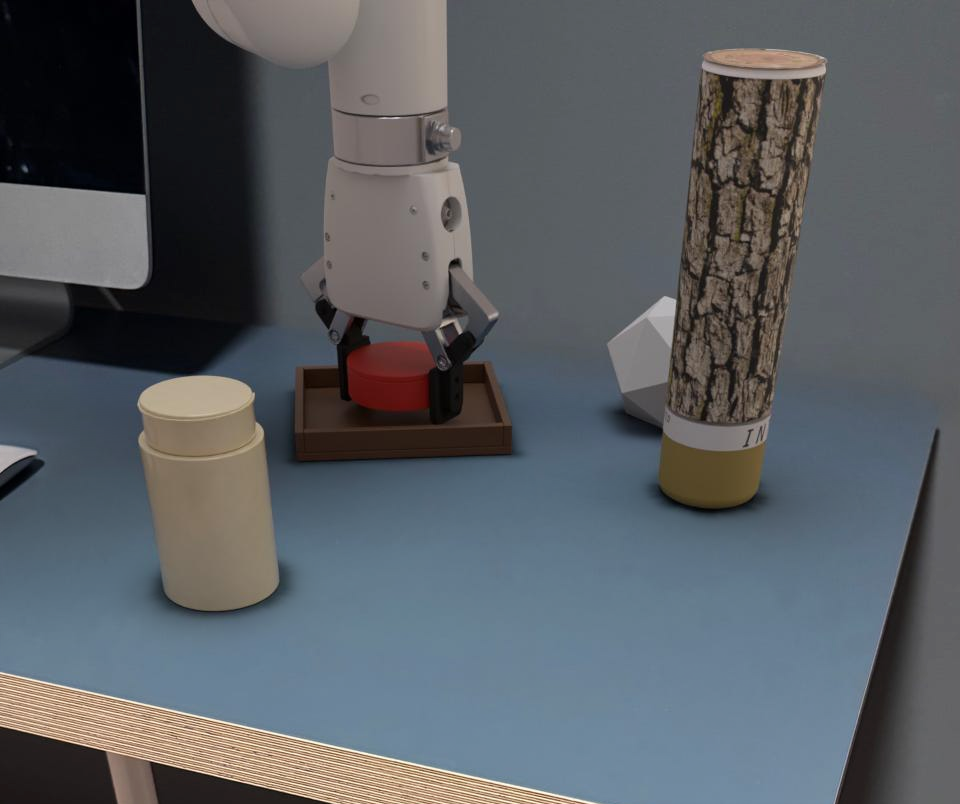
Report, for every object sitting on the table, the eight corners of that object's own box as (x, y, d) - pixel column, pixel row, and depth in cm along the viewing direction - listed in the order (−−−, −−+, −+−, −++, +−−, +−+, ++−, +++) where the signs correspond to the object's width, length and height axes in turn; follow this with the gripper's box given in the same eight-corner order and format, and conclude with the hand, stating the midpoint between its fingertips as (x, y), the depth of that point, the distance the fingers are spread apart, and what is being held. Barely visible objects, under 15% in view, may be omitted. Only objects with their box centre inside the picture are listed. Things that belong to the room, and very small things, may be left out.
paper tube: (656, 510, 82) (704, 66, 66) (656, 468, 88) (700, 47, 71) (760, 515, 82) (834, 70, 66) (754, 473, 87) (821, 50, 71)
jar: (158, 614, 71) (124, 420, 64) (168, 558, 77) (137, 374, 69) (278, 608, 72) (258, 416, 65) (280, 554, 77) (261, 370, 70)
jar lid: (378, 368, 96) (377, 335, 94) (468, 383, 94) (468, 349, 92) (330, 401, 91) (327, 367, 89) (424, 418, 88) (423, 382, 87)
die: (749, 433, 94) (738, 298, 94) (714, 408, 86) (701, 259, 86) (643, 457, 98) (632, 327, 98) (599, 434, 90) (587, 293, 90)
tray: (297, 461, 88) (294, 432, 87) (297, 393, 98) (295, 366, 97) (511, 454, 89) (512, 425, 88) (490, 387, 99) (490, 360, 98)
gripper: (534, 144, 80) (526, 416, 92) (323, 114, 87) (340, 369, 99) (468, 166, 75) (469, 450, 87) (251, 132, 83) (278, 398, 94)
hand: (400, 405), depth 93 cm, fingers closed on jar lid, 7 cm apart
